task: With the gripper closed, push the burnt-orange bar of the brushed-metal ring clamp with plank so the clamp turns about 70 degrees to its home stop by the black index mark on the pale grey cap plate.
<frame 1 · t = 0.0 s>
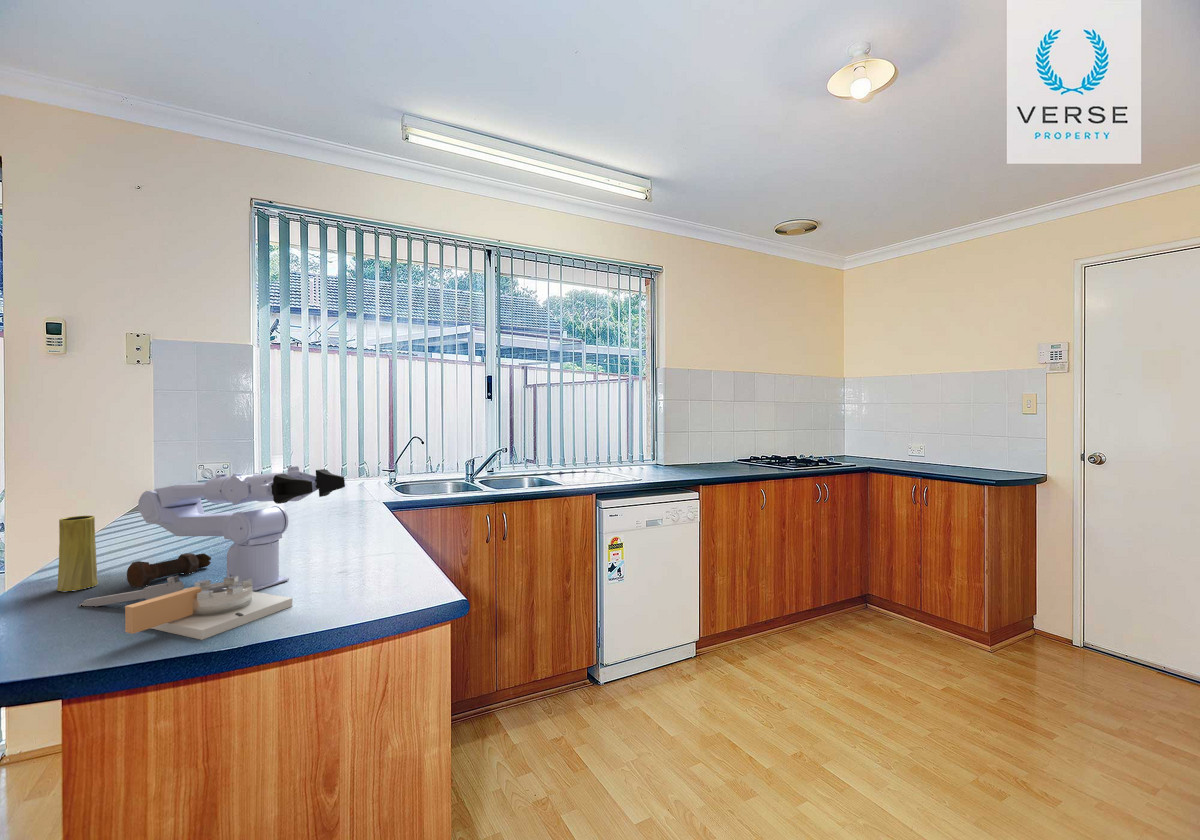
hand: (327, 484, 106), 22 cm above the countertop, tool horizontal, fingers open, 7 cm apart
vase: (77, 588, 110), on the countertop
cap plate: (218, 615, 95), on the countertop
caliper: (131, 609, 99), on the countertop
ring clamp with plank: (193, 600, 91), point 4 cm above the countertop, hinge at 0.0°
bolt: (173, 578, 118), on the countertop
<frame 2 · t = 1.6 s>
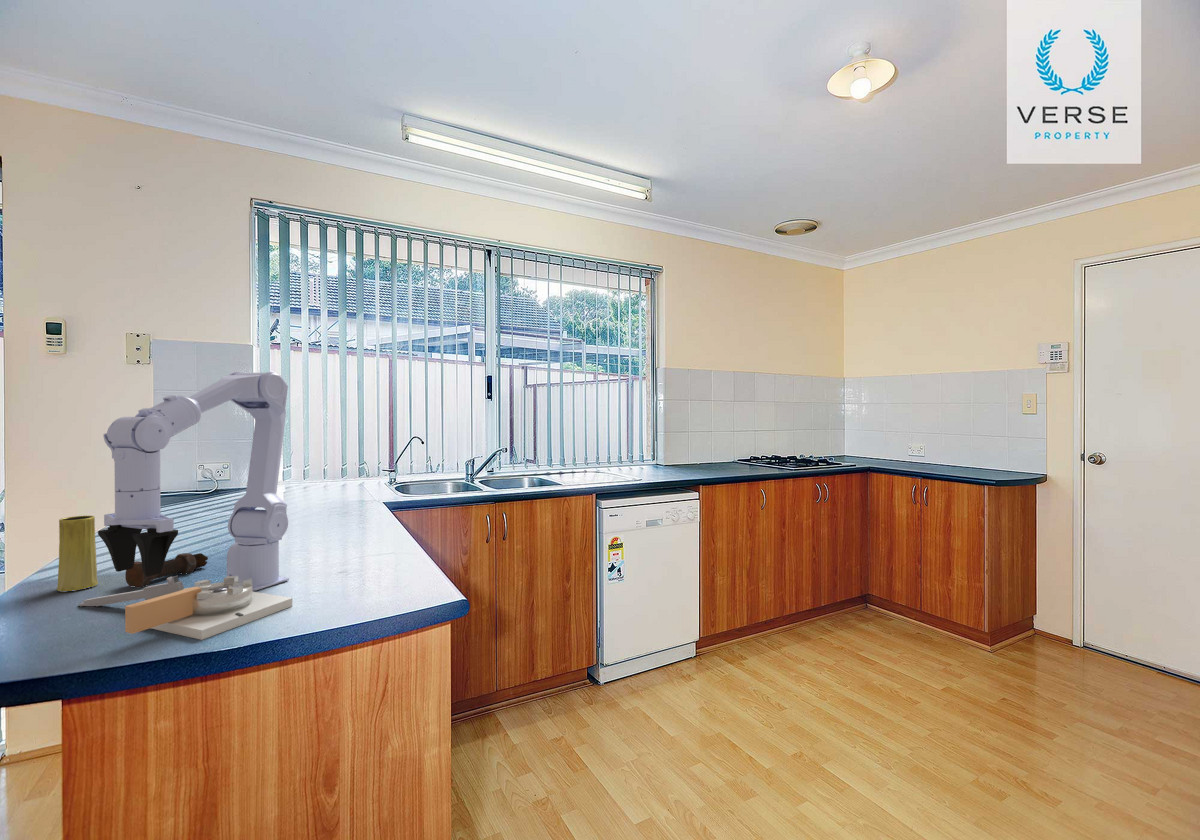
hand: (138, 572, 89), 9 cm above the countertop, tool pointing down, fingers open, 7 cm apart
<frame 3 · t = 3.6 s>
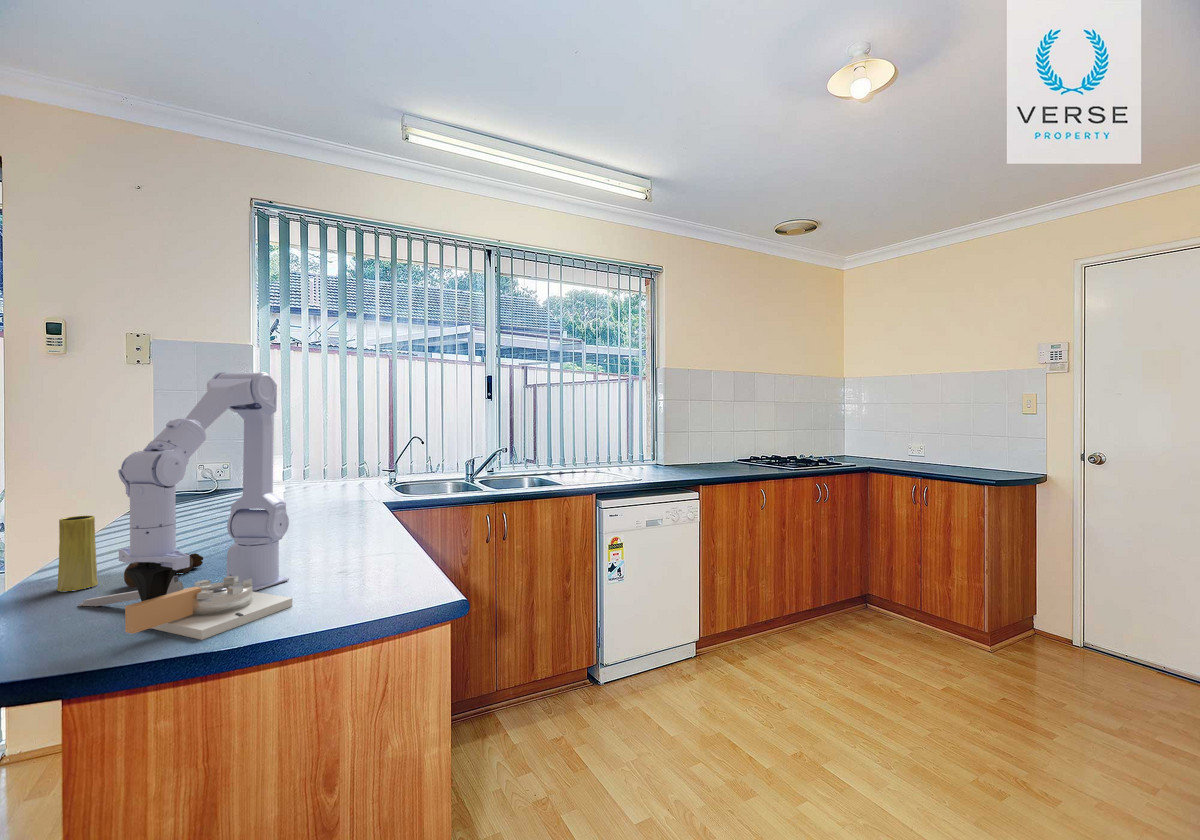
hand: (153, 608, 87), 4 cm above the countertop, tool pointing down, fingers closed
ring clamp with plank: (193, 600, 91), point 4 cm above the countertop, hinge at 0.0°, touching gripper
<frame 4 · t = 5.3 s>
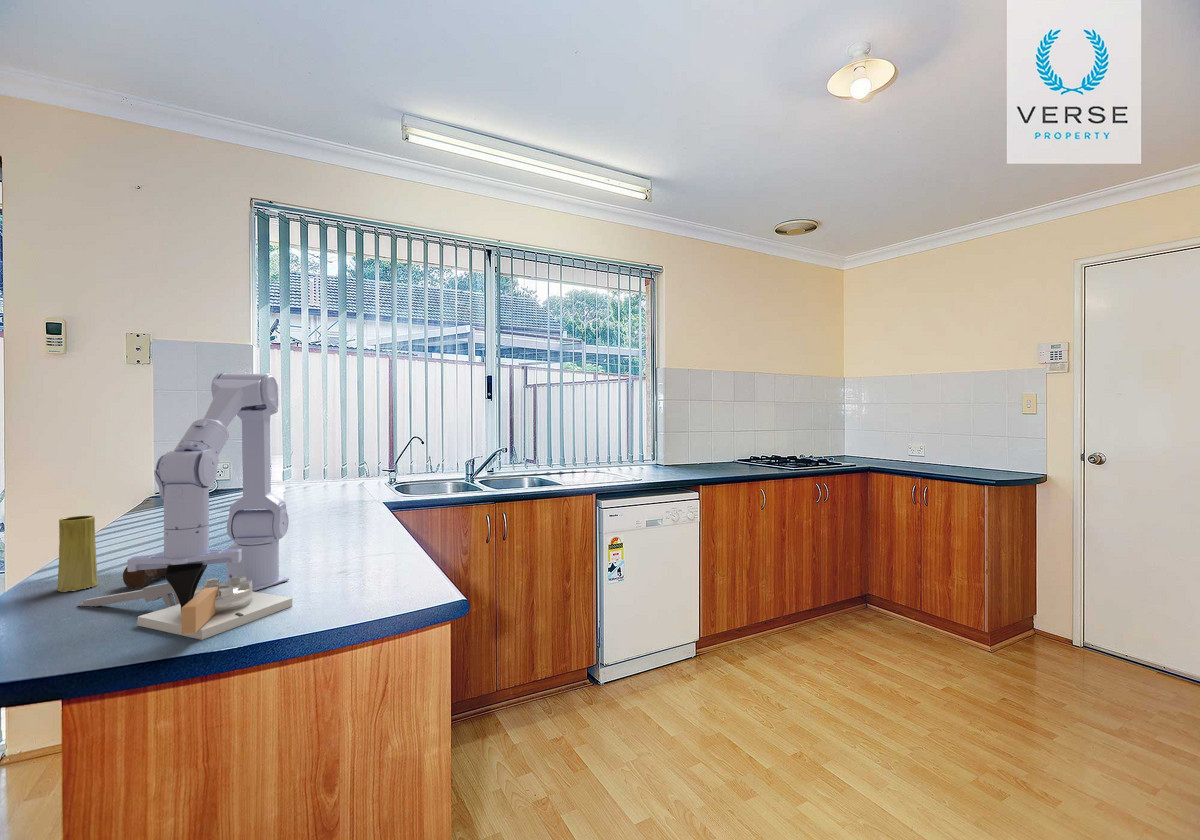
hand: (186, 611, 86), 4 cm above the countertop, tool pointing down, fingers closed
ring clamp with plank: (210, 600, 91), point 4 cm above the countertop, hinge at 40.0°, touching gripper
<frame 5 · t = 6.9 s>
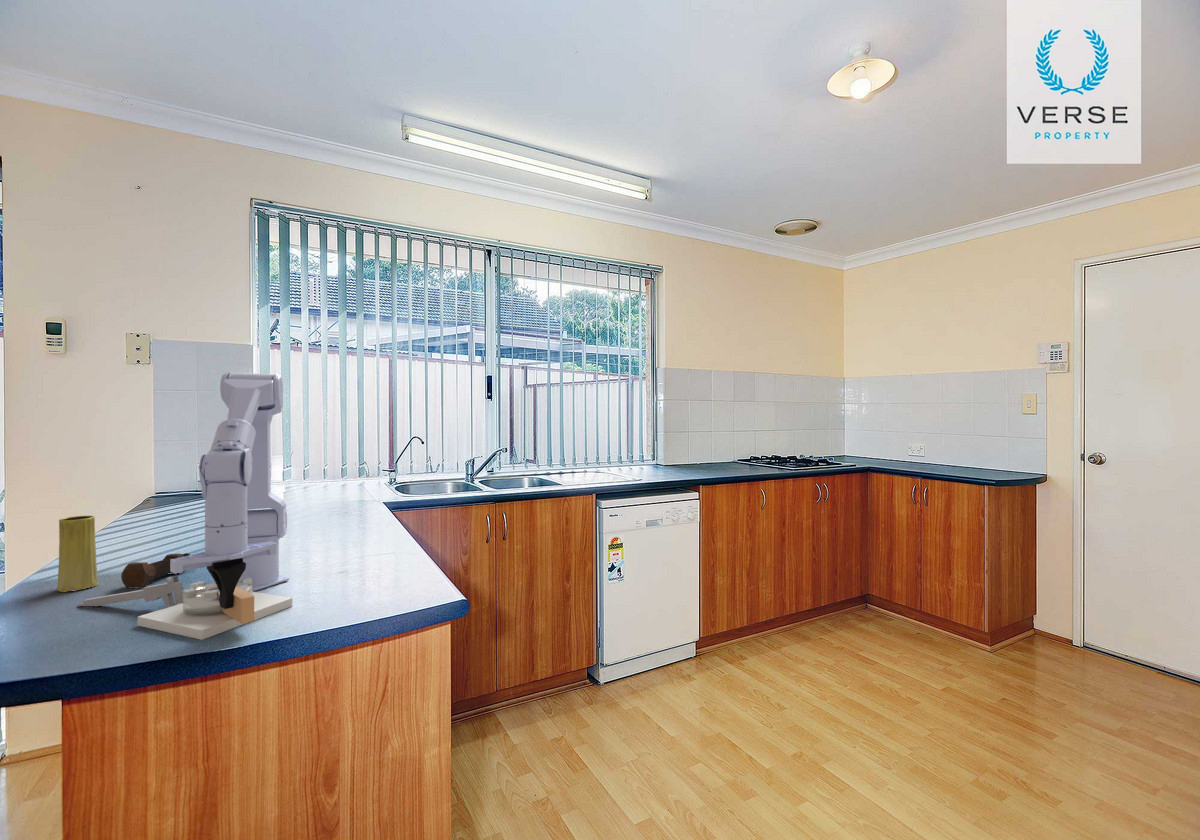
hand: (226, 606, 88), 4 cm above the countertop, tool pointing down, fingers closed
ring clamp with plank: (227, 597, 93), point 4 cm above the countertop, hinge at 72.6°, touching gripper
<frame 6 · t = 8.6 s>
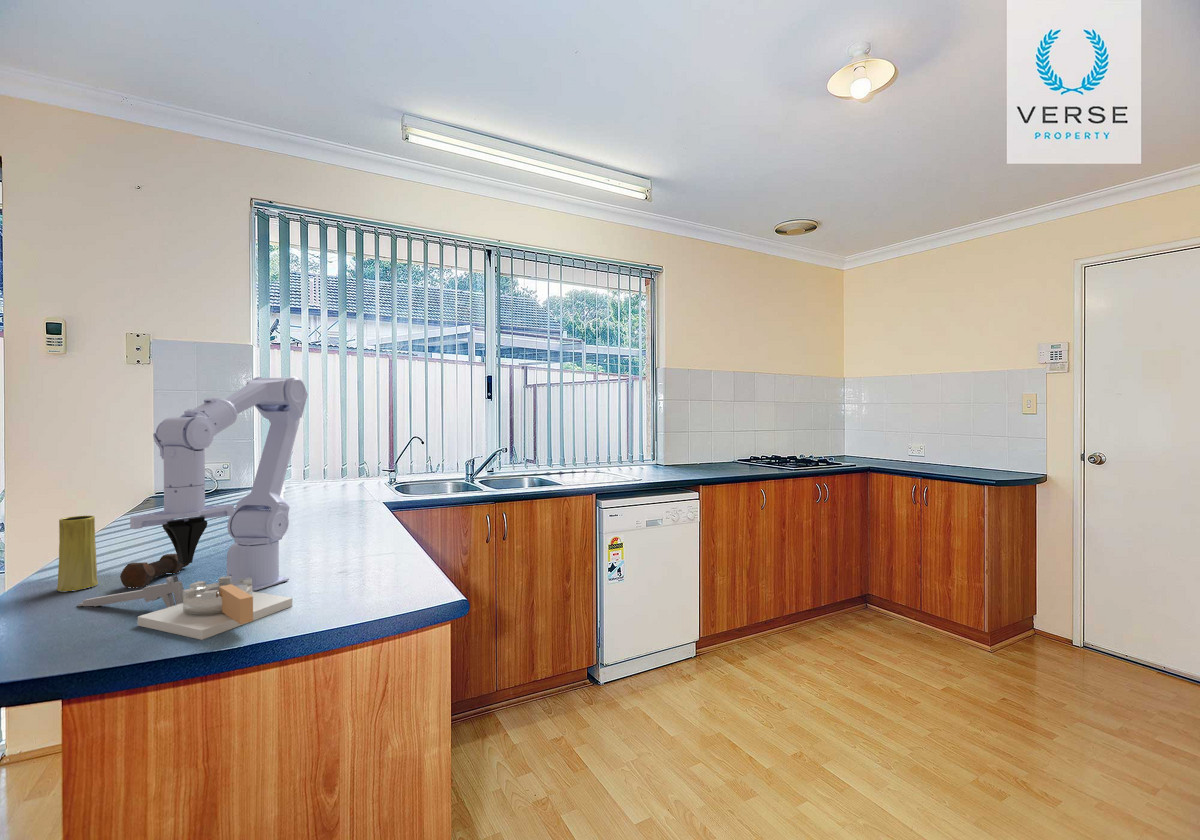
hand: (185, 562, 95), 9 cm above the countertop, tool pointing down, fingers closed
ring clamp with plank: (226, 597, 93), point 4 cm above the countertop, hinge at 71.8°
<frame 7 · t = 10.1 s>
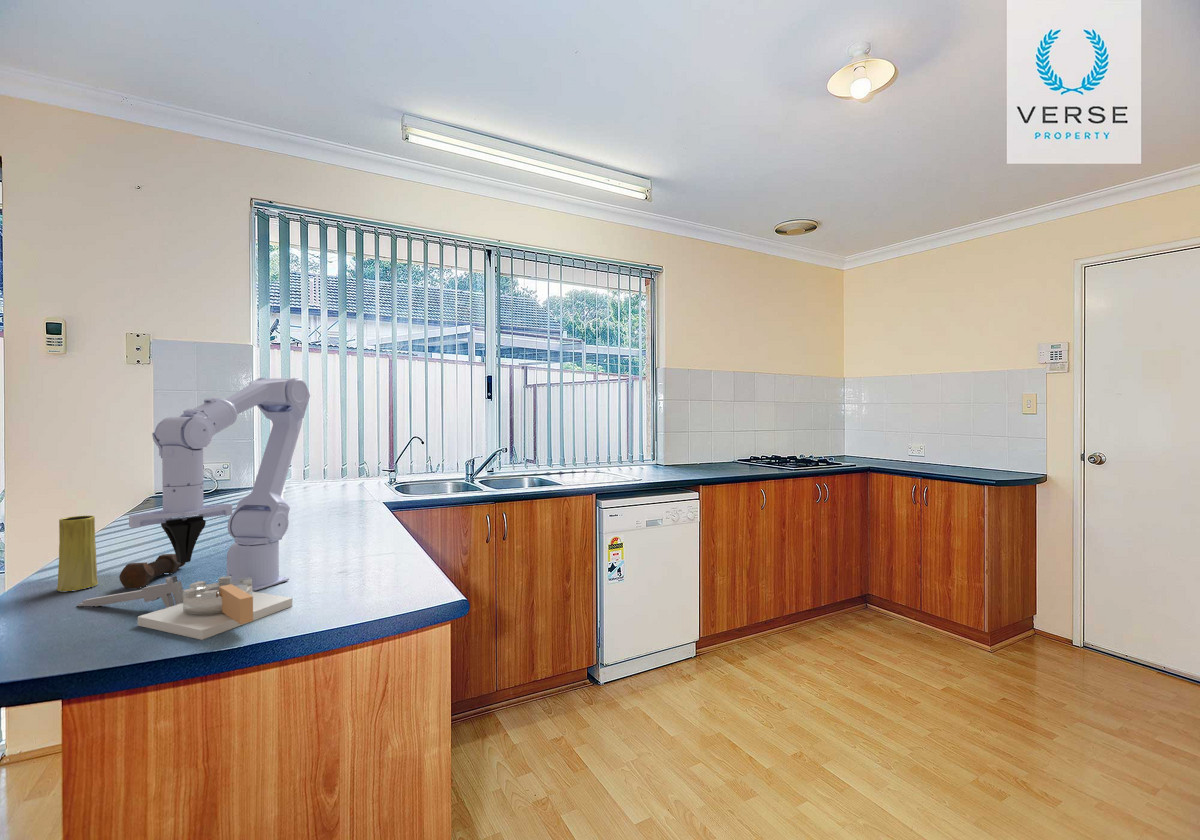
hand: (183, 561, 95), 9 cm above the countertop, tool pointing down, fingers closed
at the end: ring clamp with plank at +72° (first picture: +0°) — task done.
